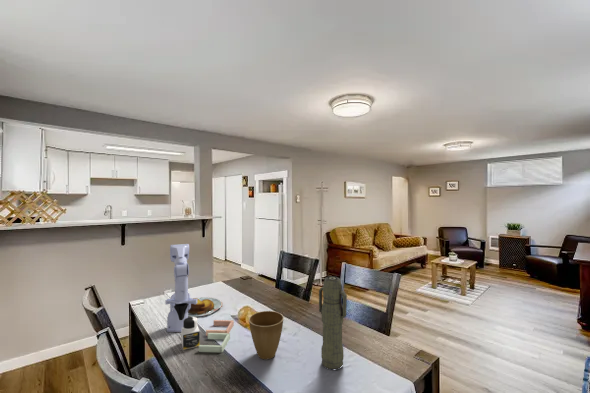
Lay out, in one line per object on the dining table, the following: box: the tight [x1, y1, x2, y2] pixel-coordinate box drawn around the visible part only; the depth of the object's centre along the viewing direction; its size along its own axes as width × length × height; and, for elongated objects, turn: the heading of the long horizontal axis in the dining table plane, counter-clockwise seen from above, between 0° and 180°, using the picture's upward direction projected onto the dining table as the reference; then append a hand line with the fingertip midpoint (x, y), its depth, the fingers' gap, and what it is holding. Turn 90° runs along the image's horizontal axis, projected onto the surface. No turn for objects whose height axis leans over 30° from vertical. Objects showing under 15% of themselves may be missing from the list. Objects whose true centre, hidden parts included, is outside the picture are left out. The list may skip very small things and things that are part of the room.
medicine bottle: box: [180, 316, 201, 351], centre depth 129 cm, size 7×7×12 cm
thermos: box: [318, 275, 348, 370], centre depth 115 cm, size 9×12×35 cm
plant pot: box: [248, 310, 285, 360], centre depth 121 cm, size 15×15×16 cm
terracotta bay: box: [205, 319, 235, 337], centre depth 143 cm, size 10×12×2 cm
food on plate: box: [188, 296, 223, 317], centre depth 170 cm, size 25×25×7 cm
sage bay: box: [198, 332, 231, 353], centre depth 129 cm, size 10×12×2 cm
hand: (181, 319), depth 132 cm, fingers closed
